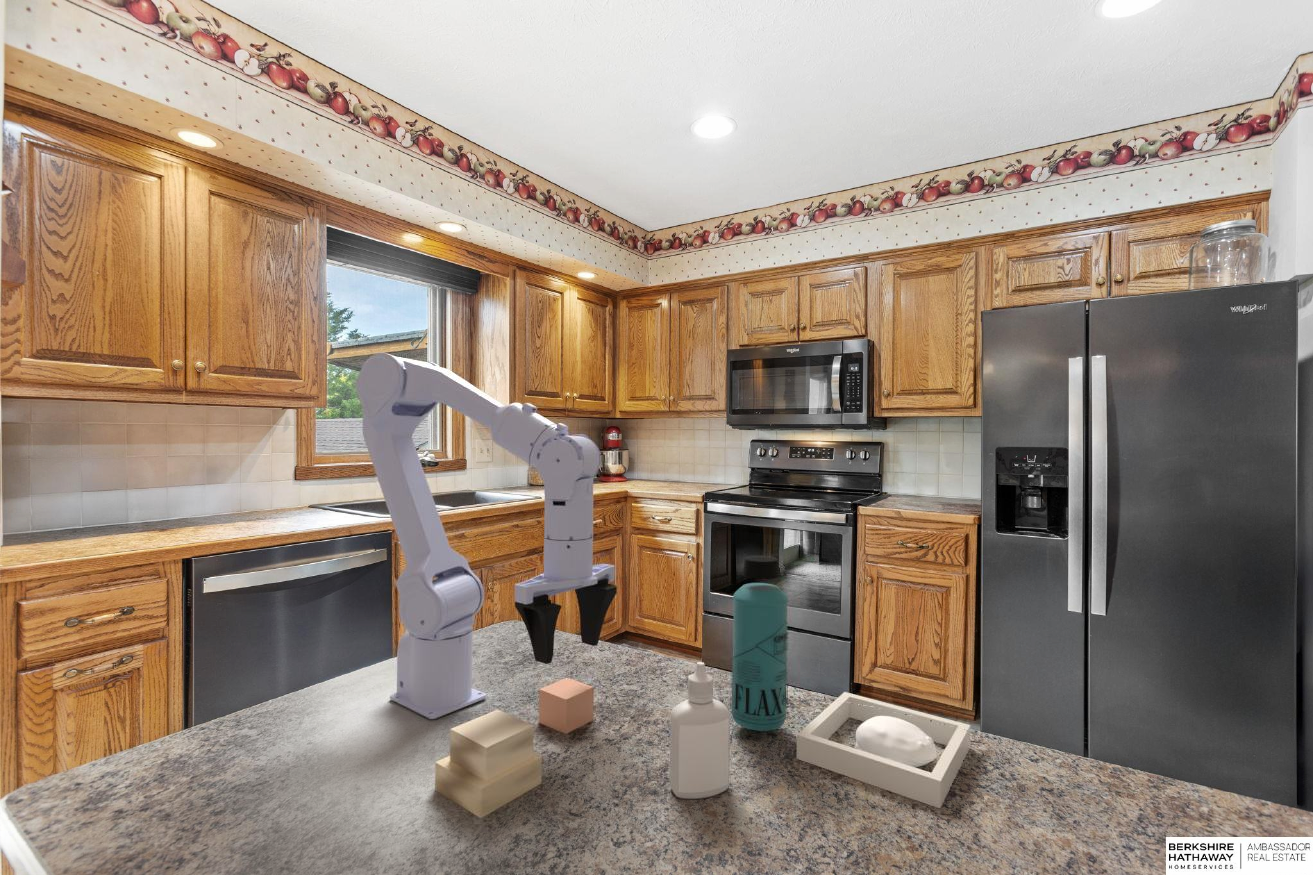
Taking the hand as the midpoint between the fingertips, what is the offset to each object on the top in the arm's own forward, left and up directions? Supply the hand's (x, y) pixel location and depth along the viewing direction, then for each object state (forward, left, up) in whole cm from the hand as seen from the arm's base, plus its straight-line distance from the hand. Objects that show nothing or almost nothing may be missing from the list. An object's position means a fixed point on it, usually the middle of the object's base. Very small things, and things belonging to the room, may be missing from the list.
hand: (567, 652), depth 72 cm
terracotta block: (0, 0, -8) cm, 8 cm away
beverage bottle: (+19, +12, -8) cm, 24 cm away
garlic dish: (+32, +16, -8) cm, 37 cm away
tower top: (+4, -14, -6) cm, 15 cm away
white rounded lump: (+33, +16, -9) cm, 38 cm away
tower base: (+4, -14, -9) cm, 17 cm away
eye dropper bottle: (+20, -2, -8) cm, 22 cm away
